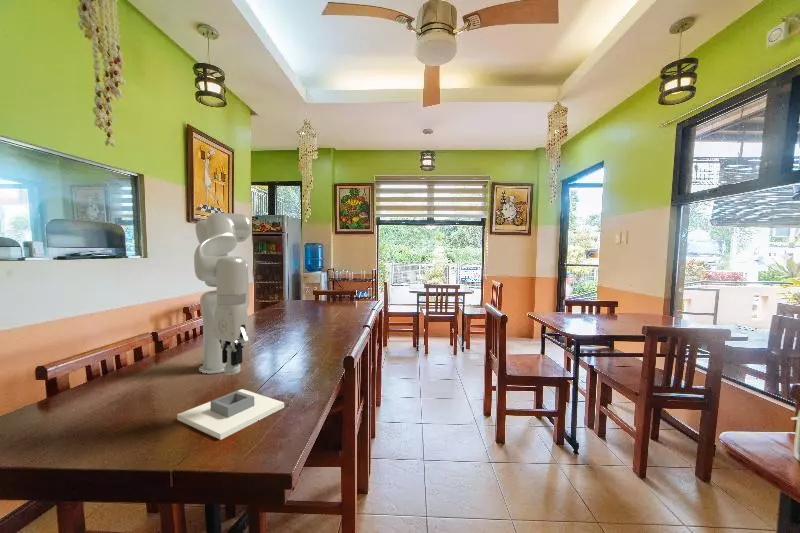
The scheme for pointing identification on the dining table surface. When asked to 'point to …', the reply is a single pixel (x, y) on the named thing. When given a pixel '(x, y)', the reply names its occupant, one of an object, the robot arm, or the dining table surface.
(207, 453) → the dining table surface
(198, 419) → the socket board
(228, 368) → the rook chess piece
